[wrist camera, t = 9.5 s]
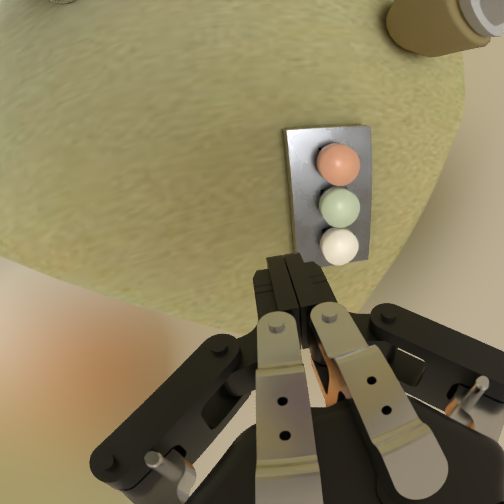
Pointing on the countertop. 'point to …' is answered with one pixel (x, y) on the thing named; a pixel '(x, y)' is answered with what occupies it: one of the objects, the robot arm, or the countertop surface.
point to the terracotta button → (338, 164)
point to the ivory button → (338, 245)
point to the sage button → (339, 206)
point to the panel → (325, 186)
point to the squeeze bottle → (444, 24)
